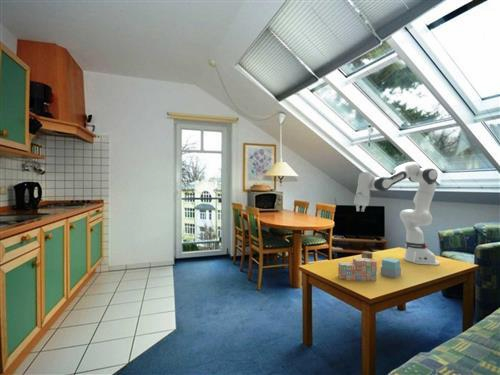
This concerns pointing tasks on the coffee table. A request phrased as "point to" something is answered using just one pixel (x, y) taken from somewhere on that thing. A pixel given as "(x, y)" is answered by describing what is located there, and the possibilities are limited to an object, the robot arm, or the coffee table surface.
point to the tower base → (391, 272)
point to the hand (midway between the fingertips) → (360, 211)
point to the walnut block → (367, 255)
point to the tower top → (391, 263)
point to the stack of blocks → (358, 269)
